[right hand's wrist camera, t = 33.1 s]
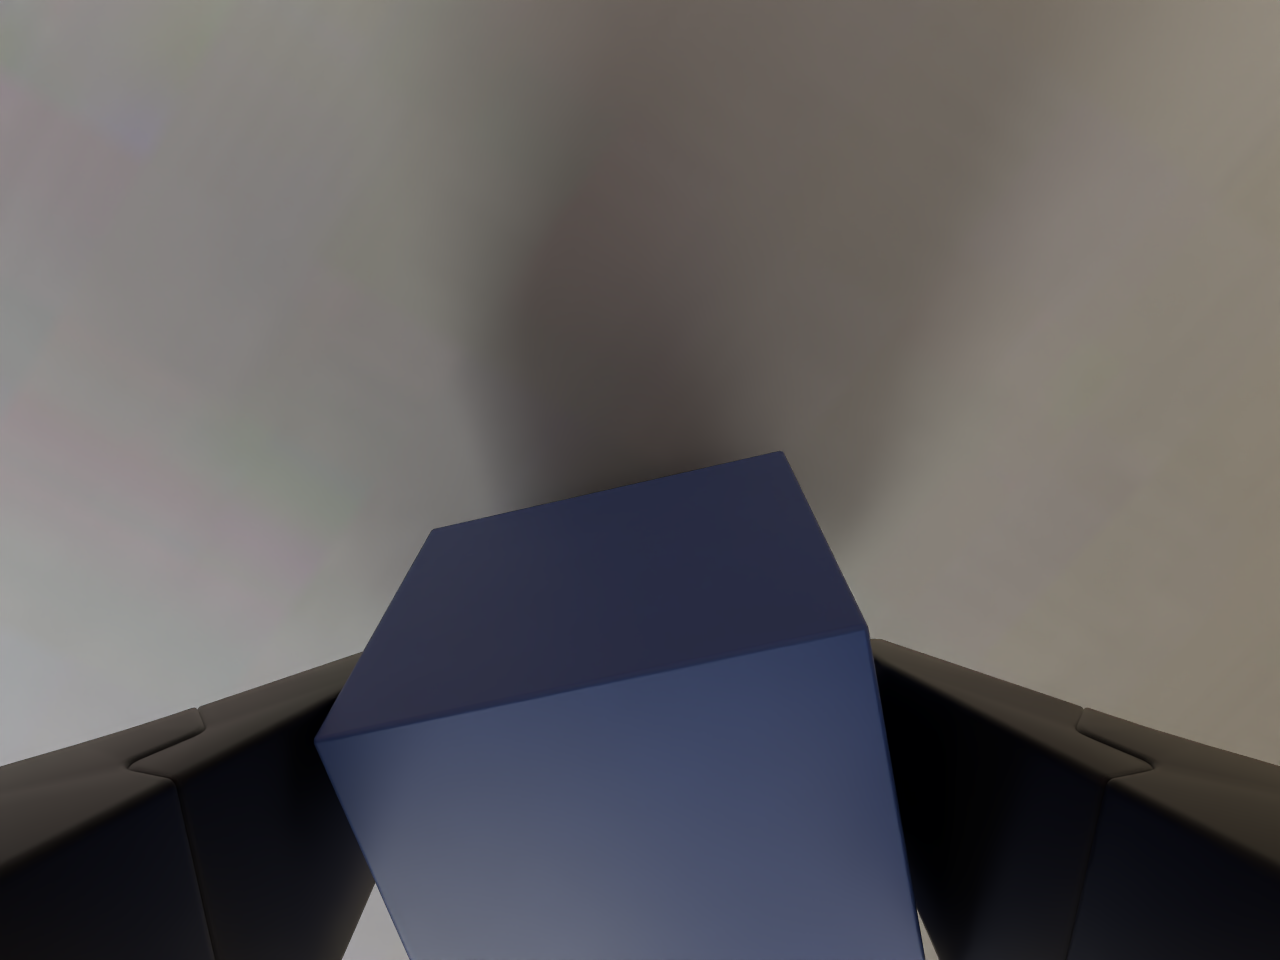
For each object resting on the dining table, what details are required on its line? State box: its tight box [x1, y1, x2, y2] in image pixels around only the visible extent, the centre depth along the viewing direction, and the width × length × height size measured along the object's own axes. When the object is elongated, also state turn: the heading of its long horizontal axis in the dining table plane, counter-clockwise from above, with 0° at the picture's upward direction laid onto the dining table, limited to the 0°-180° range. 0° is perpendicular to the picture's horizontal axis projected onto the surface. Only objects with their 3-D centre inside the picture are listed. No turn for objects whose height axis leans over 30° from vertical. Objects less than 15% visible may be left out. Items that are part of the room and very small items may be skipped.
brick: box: [314, 451, 925, 960], centre depth 10 cm, size 5×4×5 cm
